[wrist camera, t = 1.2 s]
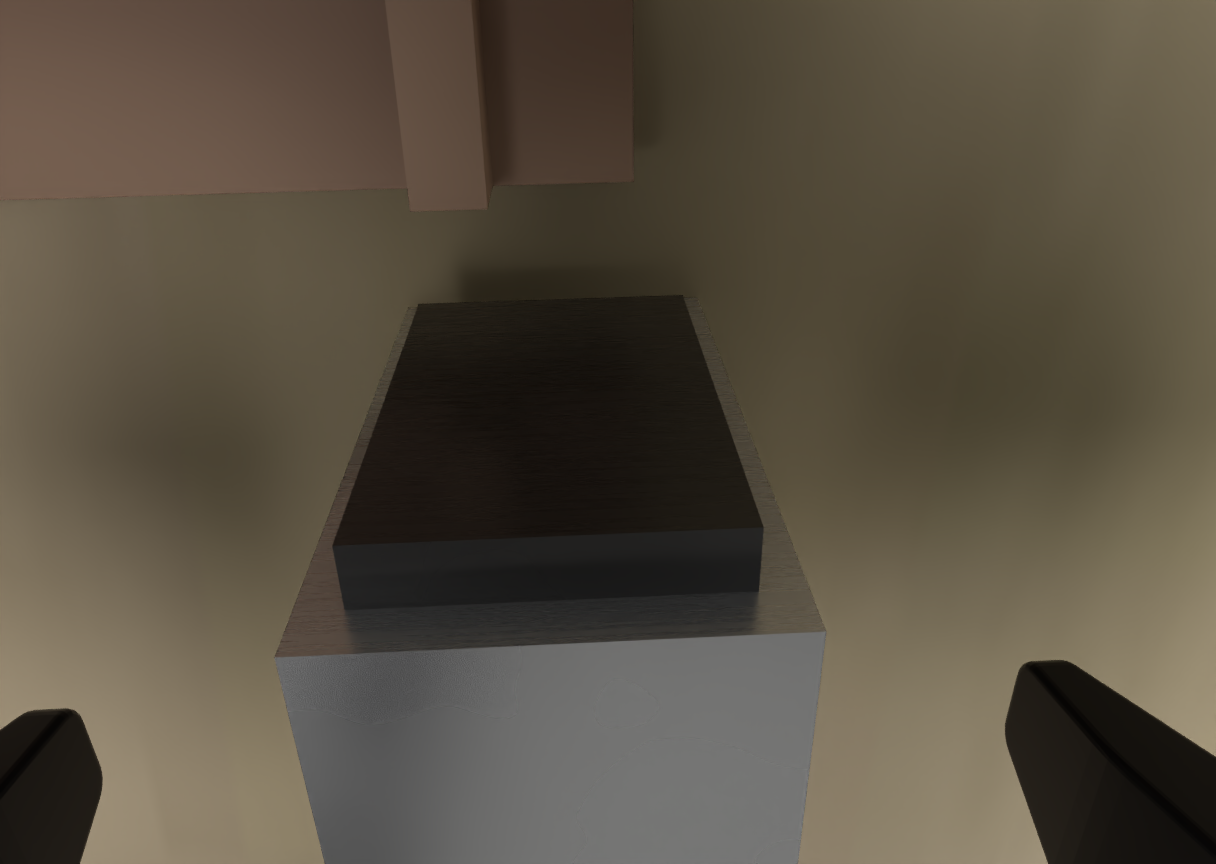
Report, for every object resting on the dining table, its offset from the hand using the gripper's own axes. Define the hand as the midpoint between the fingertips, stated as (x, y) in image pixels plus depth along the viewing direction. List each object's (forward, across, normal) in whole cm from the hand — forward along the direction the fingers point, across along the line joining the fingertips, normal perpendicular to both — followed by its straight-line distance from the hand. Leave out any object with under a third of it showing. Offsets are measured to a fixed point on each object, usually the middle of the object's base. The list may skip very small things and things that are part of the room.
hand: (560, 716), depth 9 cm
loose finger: (+6, 0, 0) cm, 6 cm away
